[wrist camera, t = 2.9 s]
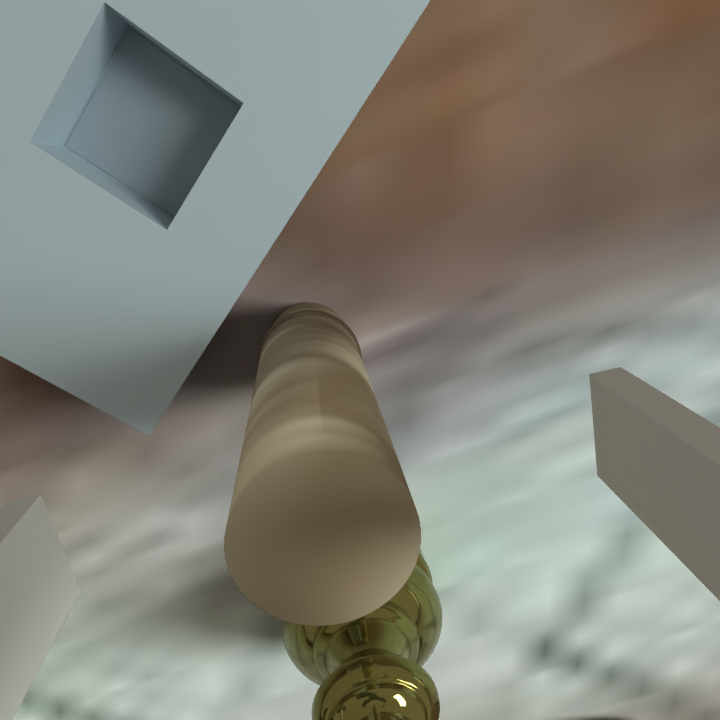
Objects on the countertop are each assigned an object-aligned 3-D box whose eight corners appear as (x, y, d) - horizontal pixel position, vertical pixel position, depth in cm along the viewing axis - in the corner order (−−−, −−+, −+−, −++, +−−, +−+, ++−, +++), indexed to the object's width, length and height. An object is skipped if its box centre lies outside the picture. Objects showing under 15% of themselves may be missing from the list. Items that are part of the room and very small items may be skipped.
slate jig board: (169, 400, 27) (148, 436, 24) (-92, 253, 25) (-163, 267, 21) (423, 5, 24) (448, -28, 20) (153, -224, 21) (121, -313, 17)
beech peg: (257, 379, 28) (210, 624, 12) (267, 290, 26) (229, 439, 11) (347, 388, 28) (406, 635, 13) (360, 302, 27) (443, 460, 12)
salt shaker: (435, 511, 31) (497, 660, 21) (412, 631, 33) (459, 816, 23) (291, 502, 30) (290, 653, 20) (277, 626, 32) (269, 817, 22)
